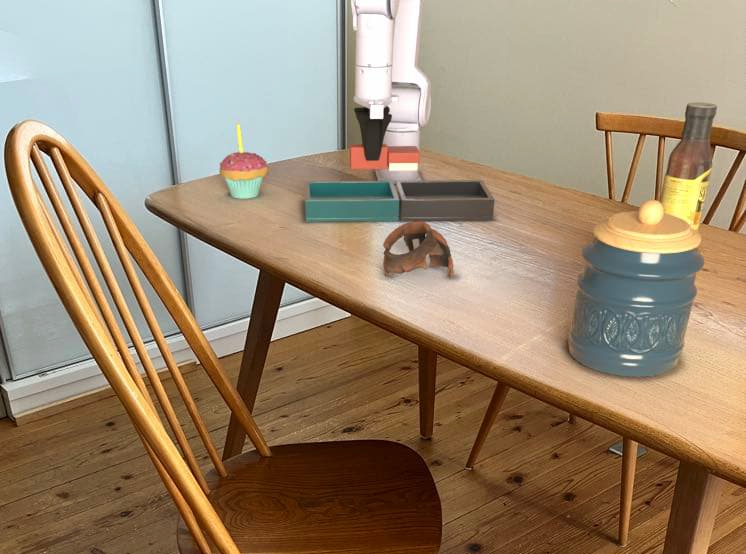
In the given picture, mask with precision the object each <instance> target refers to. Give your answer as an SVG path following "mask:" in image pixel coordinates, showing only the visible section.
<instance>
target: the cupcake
mask: <svg viewBox="0 0 746 554" xmlns="http://www.w3.org/2000/svg"><path fill="white" fill-rule="evenodd" d="M241 127H242V126H241V124H240V123H239V119H236V135H237V143H238V152H233V153H230V154H228V155H226V156H225V157H224V158H223V159H222V160H221V162H219V171H218V172H219V175H220V176H221V177H222V178H223V179H224V181H225V183H226V185H227V187H228V190H229V193H230V196H231V197H232V198H235V199H238V200H239V199H240V200H248V199H254V198H256V197H258V196H259V194H260V189H261V184H262V181H263V179H264V177H266V176H267V175H268V173H269V164H268V161H266V159H264V158H263V156H260V155H259V154H257V153H255V152H248V151H245V152H244V149H243V148H244V147H243V138H242V137H243V136H242V128H241Z"/></svg>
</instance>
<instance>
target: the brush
mask: <svg viewBox="0 0 746 554" xmlns="http://www.w3.org/2000/svg"><path fill="white" fill-rule="evenodd" d="M420 154H421V152H420V150H419V151H418V149H417V147H416V146H387V144H383V145H382V150H381V154H380V158H379V160H378V161H366V157H365V153H364V145H363V144H362V143H351V144H350V145H349V168H350V170H375V169H387V166H388V168H389V171H406V170H417V167H418V168H419V164H418V163H420V156H421V155H420Z"/></svg>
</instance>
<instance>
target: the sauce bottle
mask: <svg viewBox="0 0 746 554" xmlns="http://www.w3.org/2000/svg"><path fill="white" fill-rule="evenodd" d="M717 109H718V105H717V104H715V103H710V102H689V103H687V104H686V108H685V112H684V117H685V120H684V123H683V124H684V125H683V130H682V132H681V139H680V141H679V142H678V143H677V144H676V145H675V147H674V148H673V149H672V151H671V153H670V154H669V157H668V163H667V168H666V171H665V173H664V174H665V175H664V179H663V184H662V188H661V193H660V198H659V202H661V203H662V205H663V208H664V214H668V215H672V216H675V217H678V218H681V219H683V220H685V221H686V222H687V223H688V224H689V225H690V227H691V228H692V229H694V230H695V231H696V232H698V233H699V227H700V223H701V219H702V214H703V210H704V207H705V201H706V197H707V192H708V187H709V183H710V179H711V174H712V170H713V159H712V158H713V157H712V149H711V148H712V147H711V139H710V138H711V131H712V127H713V123H714V119H715V117H716V115H717Z"/></svg>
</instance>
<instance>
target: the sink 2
mask: <svg viewBox="0 0 746 554" xmlns="http://www.w3.org/2000/svg"><path fill="white" fill-rule="evenodd" d="M394 186H395V189H396V192H397V195H398V198H399V217H398V218H399V220H400V222H413V221H414V220H418V221H421V222H456V221H457V222H463V221H466V222H467V221H468V222H470V221H475V222H477V221H478V222H479V221H493V219H494V209H495V201H496V200H495V198H494V196H493V195H492V193H491V191H490V190H489V188H488V187H487V185H486V183H485V182H484V180H483V179H459V180H457V179H451V180H450V179H445V180H443V179H442V180H441V179H439V180H437V179H435V180H422V181H395V184H394Z"/></svg>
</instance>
